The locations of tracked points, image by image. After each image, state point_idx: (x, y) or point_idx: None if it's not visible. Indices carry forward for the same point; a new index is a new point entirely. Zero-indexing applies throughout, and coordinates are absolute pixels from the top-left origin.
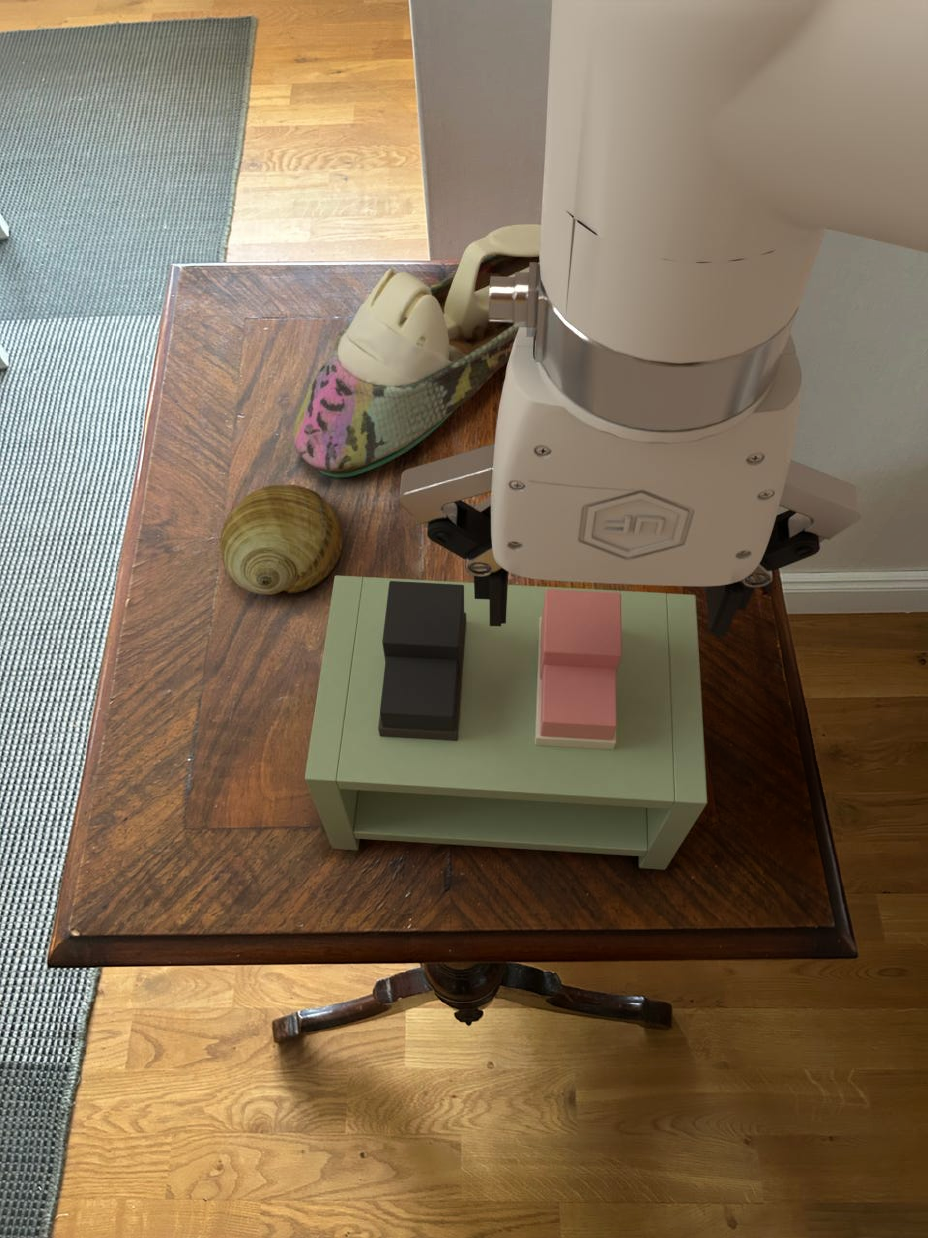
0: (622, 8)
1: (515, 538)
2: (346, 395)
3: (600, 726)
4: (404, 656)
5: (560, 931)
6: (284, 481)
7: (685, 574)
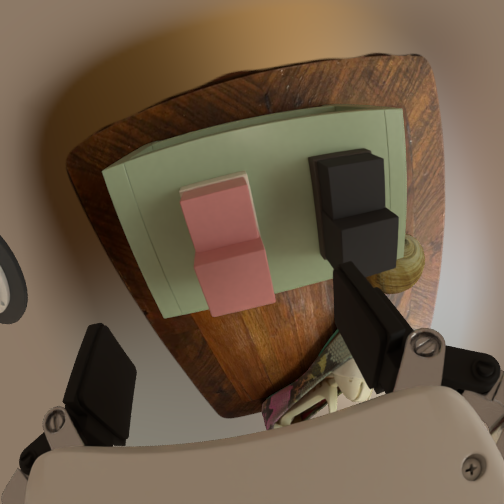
0: None
1: (485, 487)
2: None
3: (193, 197)
4: (373, 211)
5: (194, 90)
6: None
7: (99, 486)
